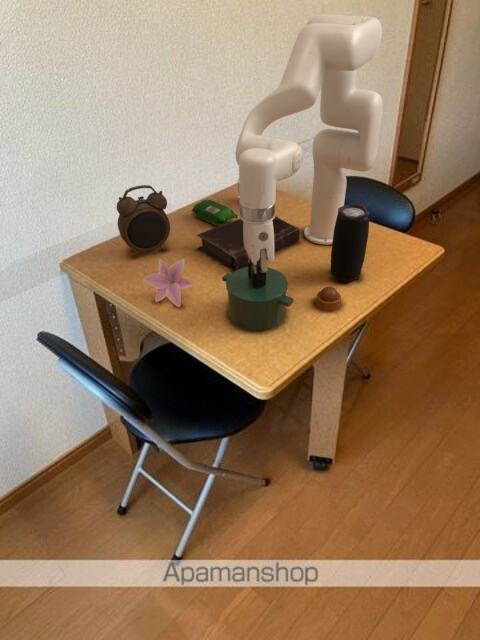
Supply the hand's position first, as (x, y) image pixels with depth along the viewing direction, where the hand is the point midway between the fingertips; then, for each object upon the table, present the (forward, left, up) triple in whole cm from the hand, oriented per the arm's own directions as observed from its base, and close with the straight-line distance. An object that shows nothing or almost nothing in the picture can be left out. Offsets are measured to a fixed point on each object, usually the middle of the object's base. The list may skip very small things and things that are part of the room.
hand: (257, 281), depth 116 cm
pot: (0, 0, -9) cm, 9 cm away
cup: (-24, -57, -10) cm, 63 cm away
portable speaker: (-29, -5, -10) cm, 31 cm away
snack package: (-9, -51, -10) cm, 53 cm away
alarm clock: (+16, -41, -10) cm, 45 cm away
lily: (+17, -16, -10) cm, 25 cm away
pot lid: (0, 0, -1) cm, 1 cm away
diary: (-12, -31, -10) cm, 35 cm away
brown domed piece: (-18, +4, -9) cm, 21 cm away
